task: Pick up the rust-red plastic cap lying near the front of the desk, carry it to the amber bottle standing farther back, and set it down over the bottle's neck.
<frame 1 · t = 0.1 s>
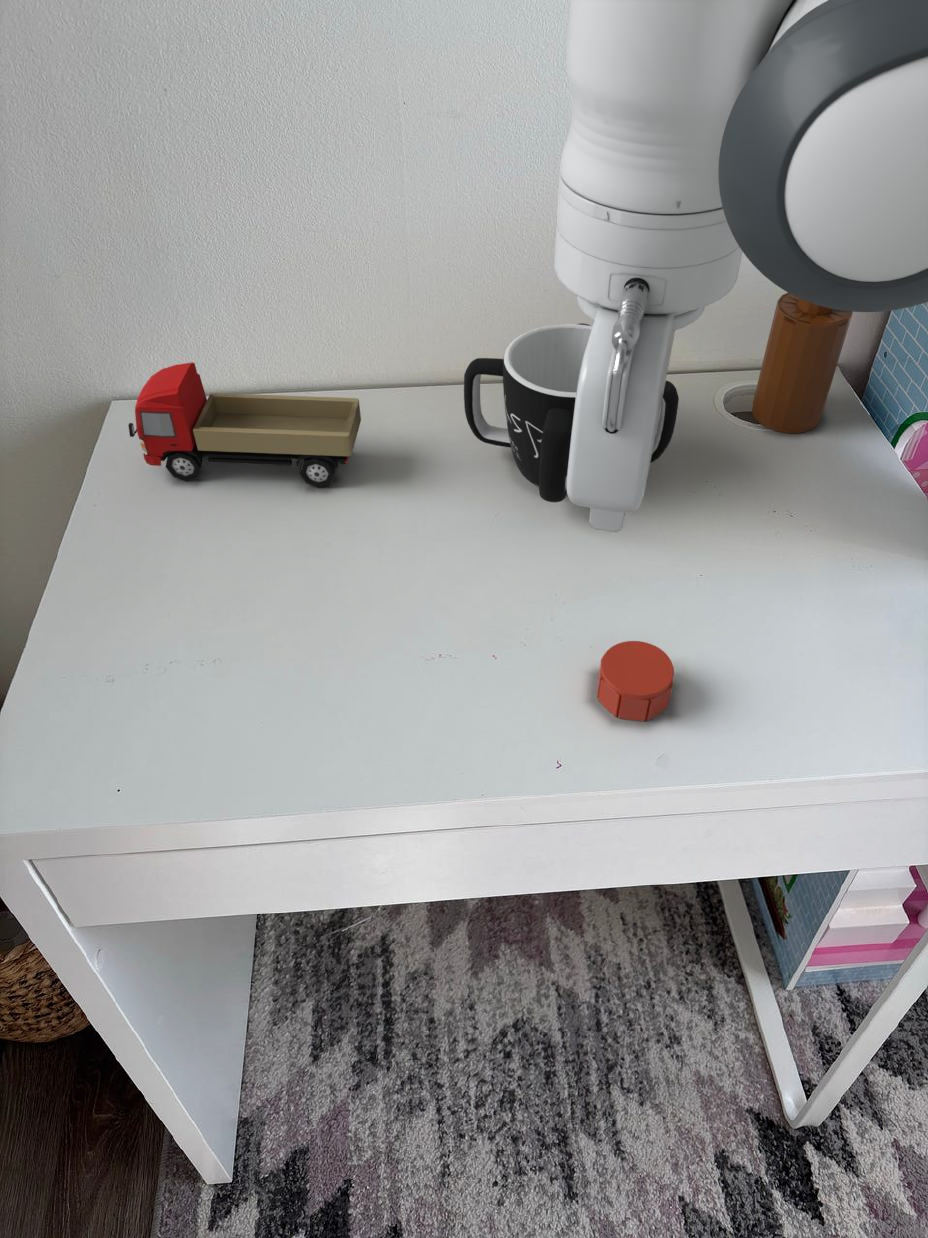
hand: (618, 470, 56), 23 cm above the table, tool pointing down, fingers open, 8 cm apart
mug: (563, 467, 94), on the table
bottle: (785, 414, 99), on the table
toy truck: (256, 468, 94), on the table
cap: (632, 692, 74), on the table
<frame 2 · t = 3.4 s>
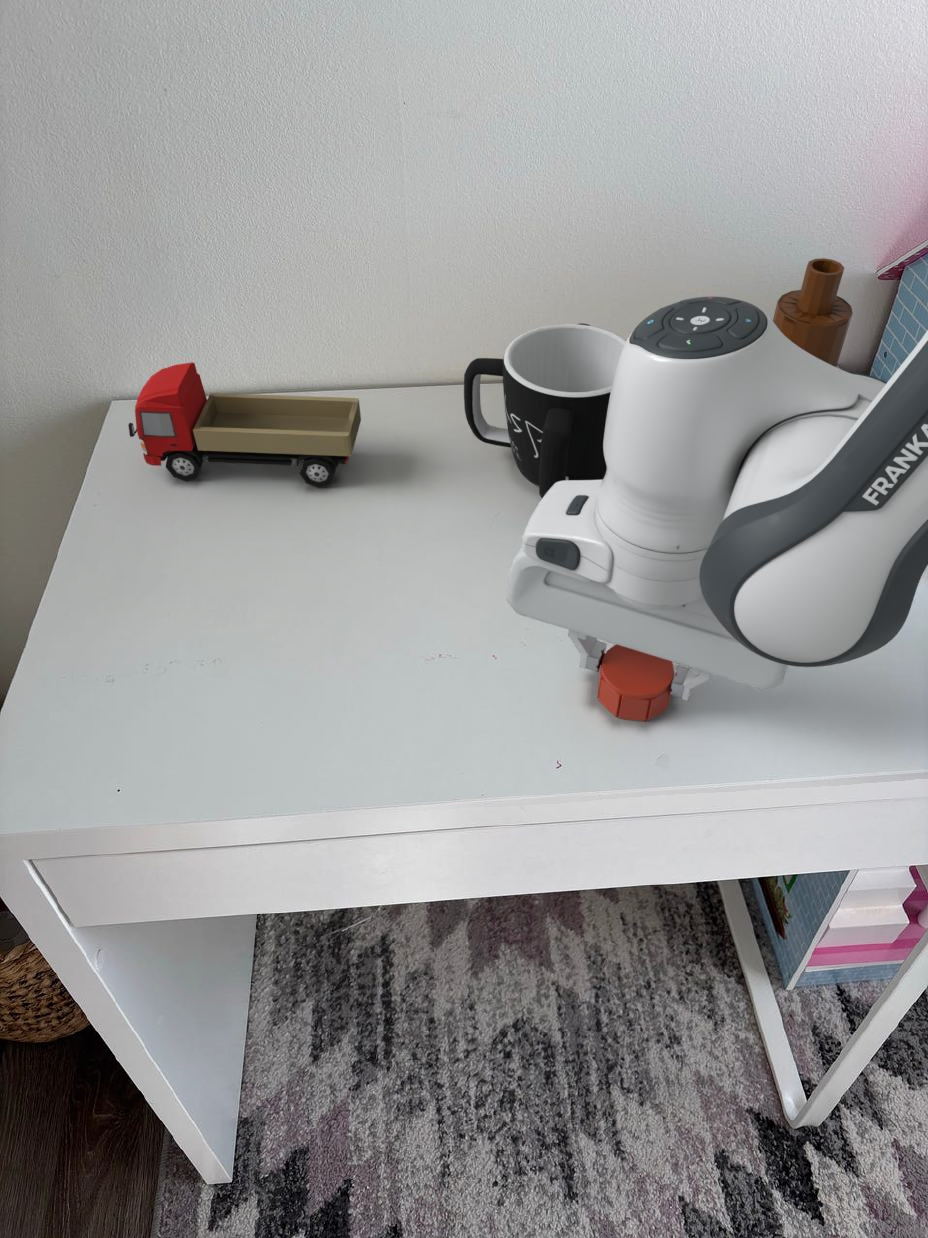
hand: (635, 677, 73), 2 cm above the table, tool pointing down, fingers closed on cap, 5 cm apart
cap: (633, 692, 74), on the table, touching gripper
everything else where it was.
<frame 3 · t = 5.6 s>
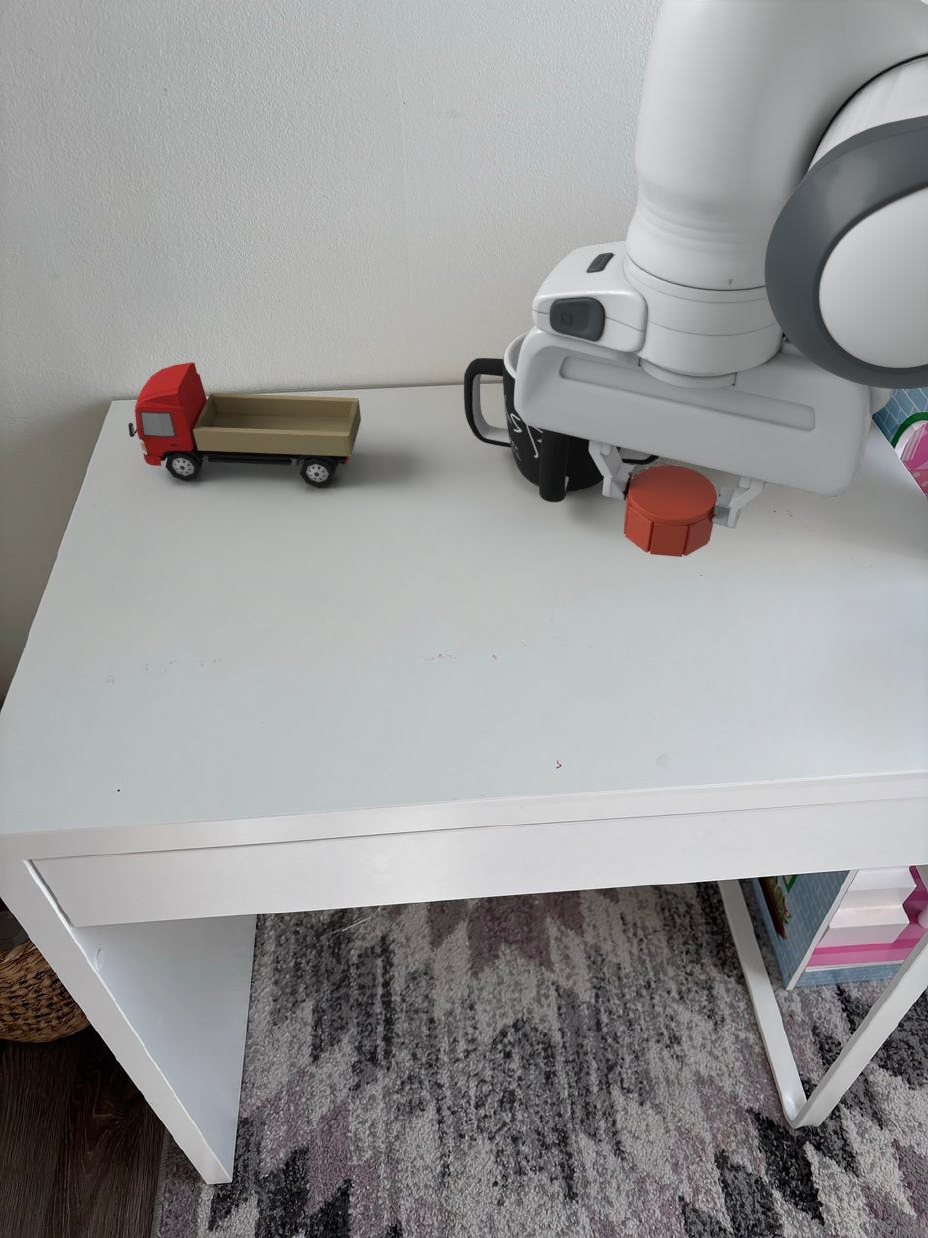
hand: (669, 506, 61), 19 cm above the table, tool pointing down, fingers closed on cap, 5 cm apart
cap: (666, 527, 62), point 17 cm above the table, touching gripper
everything else where it was.
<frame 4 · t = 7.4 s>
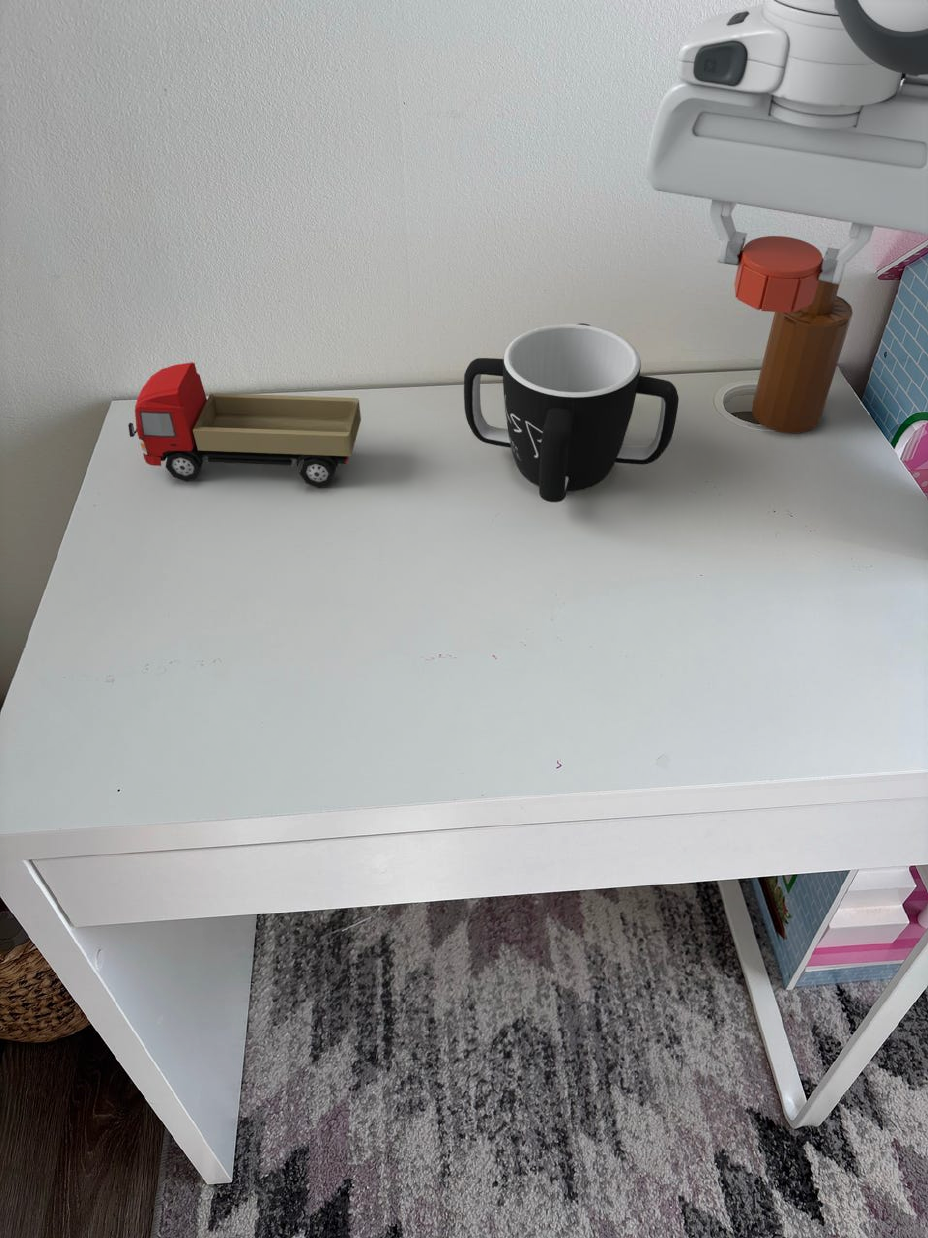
hand: (778, 269, 68), 25 cm above the table, tool pointing down, fingers closed on cap, 5 cm apart
cap: (773, 293, 69), point 24 cm above the table, touching gripper
everything else where it was.
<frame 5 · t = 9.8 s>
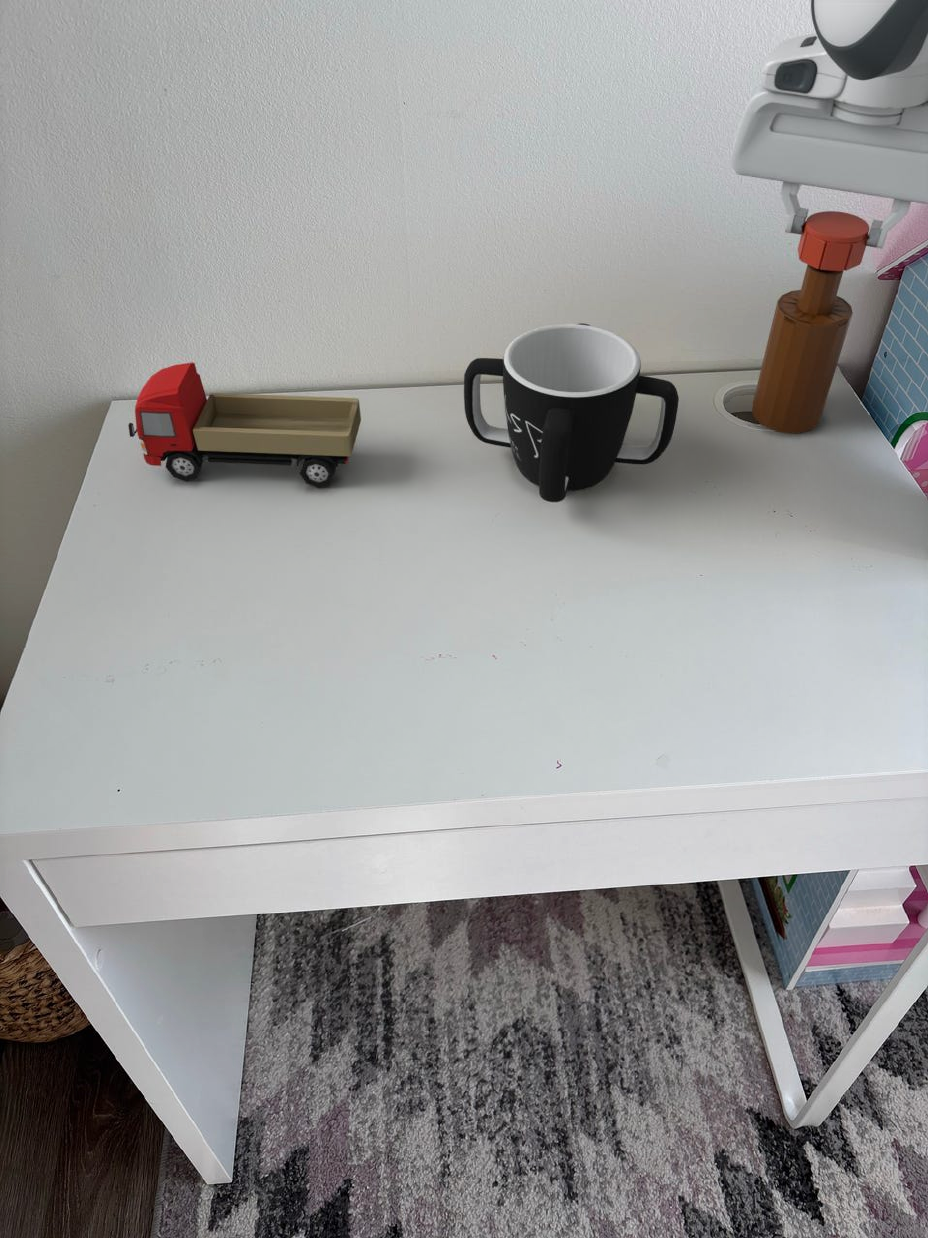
hand: (833, 237, 86), 19 cm above the table, tool pointing down, fingers closed on cap, 5 cm apart
cap: (828, 256, 87), point 17 cm above the table, touching gripper
everything else where it was.
when the fingers open (15 cm above the table, at t = 11.6 s): cap stays where it is, resting on bottle.
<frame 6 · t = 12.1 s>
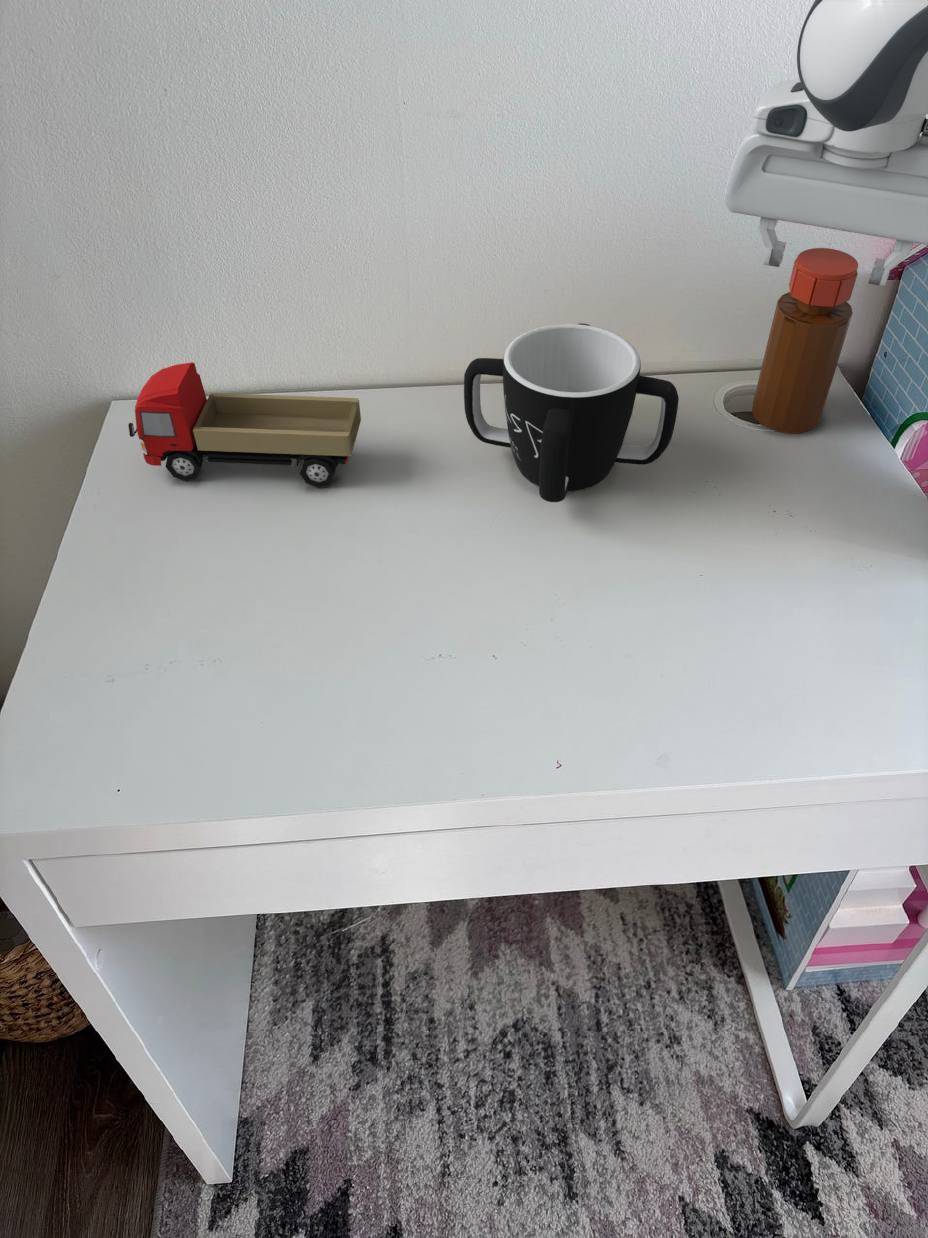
hand: (824, 272, 88), 15 cm above the table, tool pointing down, fingers open, 8 cm apart
cap: (819, 291, 90), point 13 cm above the table, touching bottle
everything else where it was.
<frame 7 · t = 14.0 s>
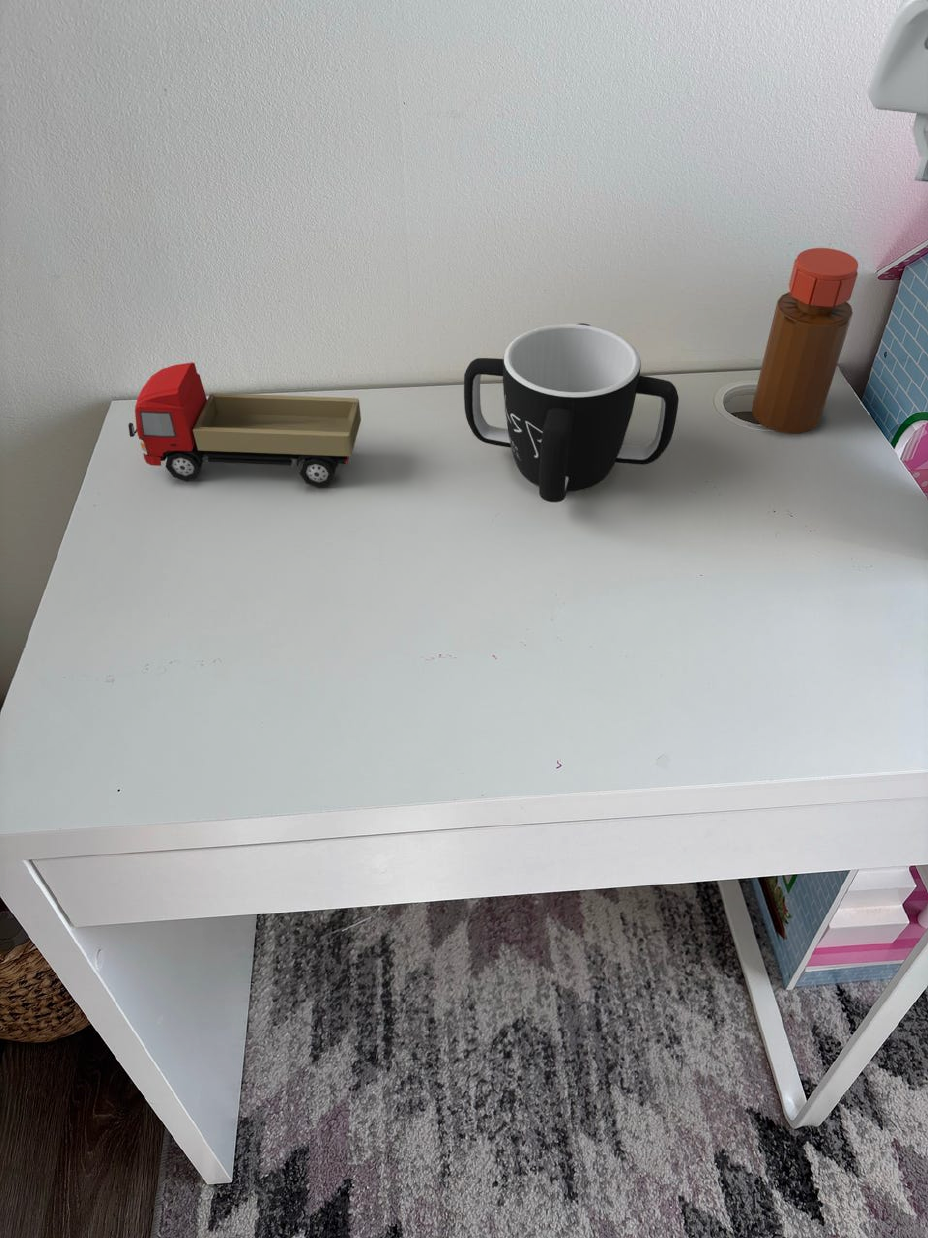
nothing on the table moved.
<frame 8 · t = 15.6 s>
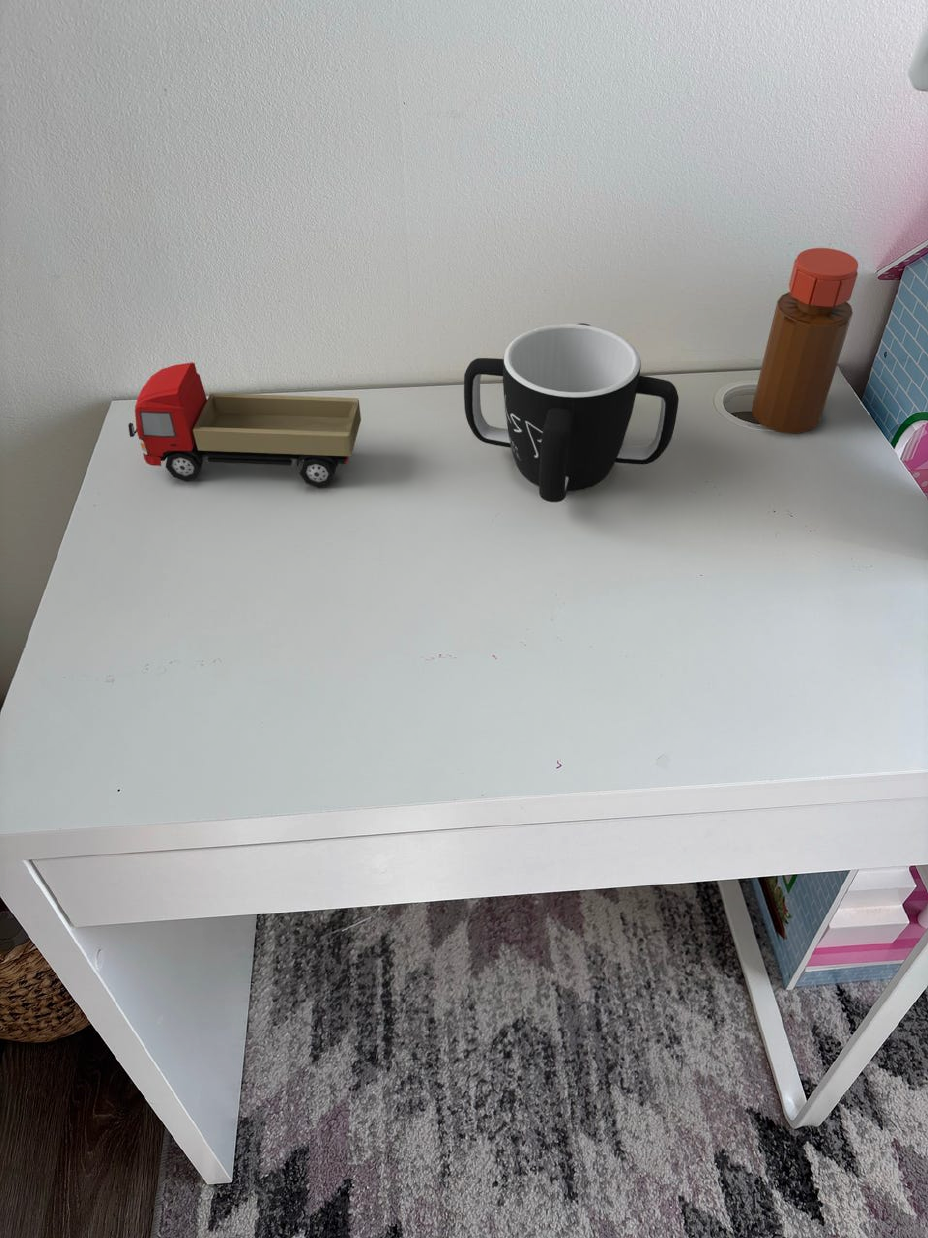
nothing on the table moved.
at the end: cap 0.0 cm off-centre in the bottle, point 13.5 cm above the bottle's base; cap tilted 0° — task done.
